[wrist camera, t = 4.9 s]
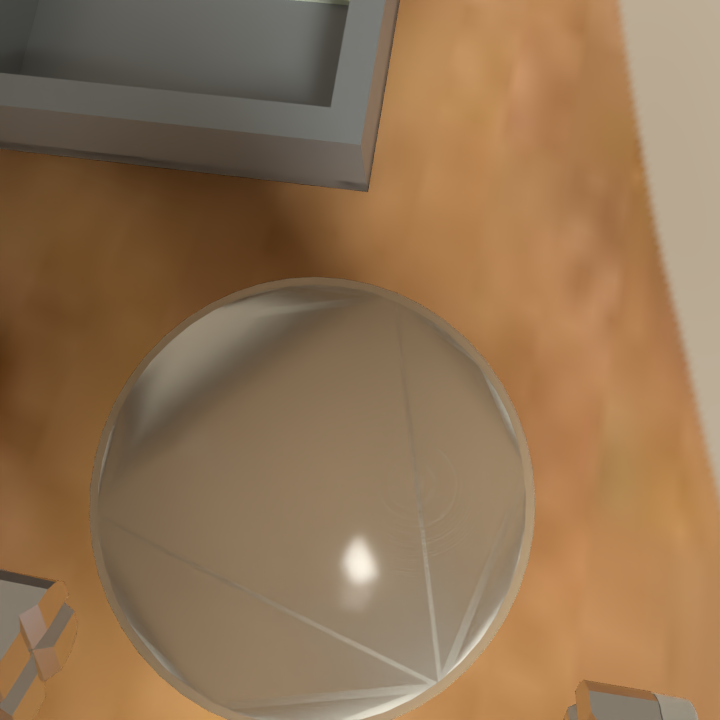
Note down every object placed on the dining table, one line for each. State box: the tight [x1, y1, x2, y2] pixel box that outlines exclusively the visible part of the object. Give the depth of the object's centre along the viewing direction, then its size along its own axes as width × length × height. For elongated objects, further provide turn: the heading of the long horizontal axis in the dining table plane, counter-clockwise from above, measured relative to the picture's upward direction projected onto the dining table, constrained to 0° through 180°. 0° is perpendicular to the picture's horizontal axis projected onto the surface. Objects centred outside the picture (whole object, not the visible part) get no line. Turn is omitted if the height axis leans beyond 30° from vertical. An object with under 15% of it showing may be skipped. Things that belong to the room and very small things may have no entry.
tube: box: [89, 277, 535, 720], centre depth 14 cm, size 5×5×12 cm
